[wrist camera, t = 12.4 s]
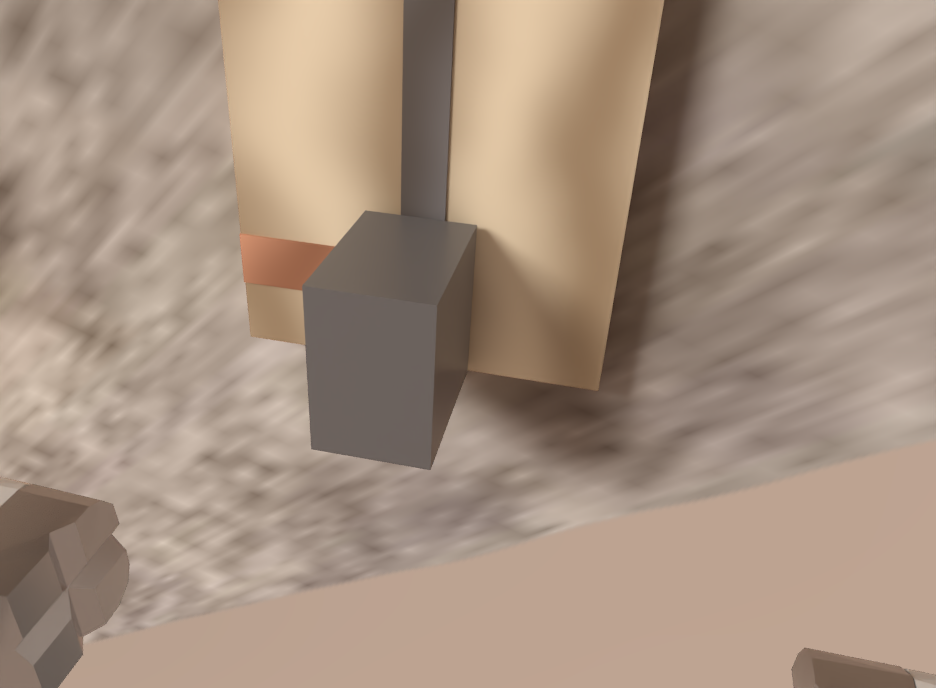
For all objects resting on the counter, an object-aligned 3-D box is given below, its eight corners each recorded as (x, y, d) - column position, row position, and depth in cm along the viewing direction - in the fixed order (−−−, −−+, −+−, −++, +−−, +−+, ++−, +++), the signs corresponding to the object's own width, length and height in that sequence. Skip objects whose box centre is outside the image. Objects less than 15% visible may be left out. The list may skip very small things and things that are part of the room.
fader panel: (747, -512, 20) (757, -549, 18) (601, 363, 32) (598, 392, 31) (204, -513, 21) (163, -546, 20) (270, 313, 34) (249, 337, 33)
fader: (477, 225, 28) (437, 305, 23) (467, 370, 31) (430, 469, 26) (365, 210, 28) (302, 285, 23) (366, 355, 32) (311, 449, 27)
